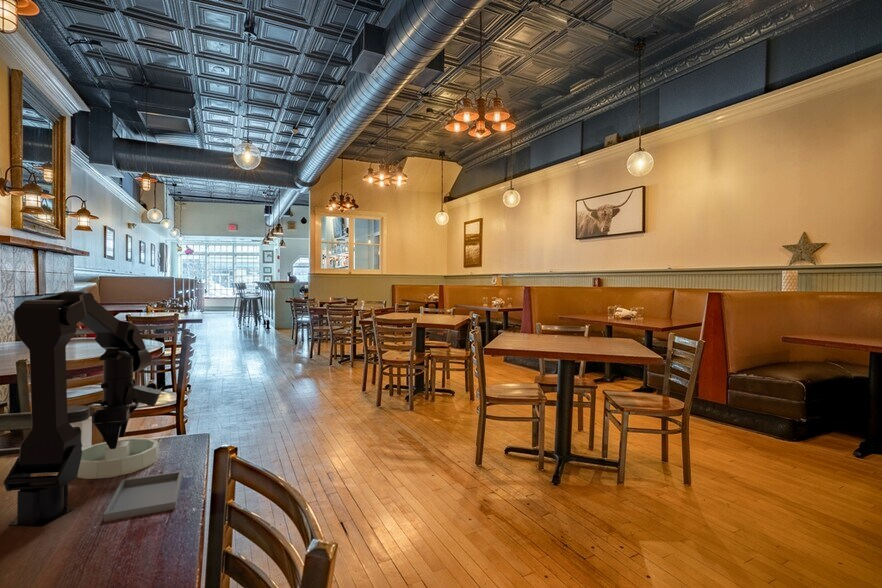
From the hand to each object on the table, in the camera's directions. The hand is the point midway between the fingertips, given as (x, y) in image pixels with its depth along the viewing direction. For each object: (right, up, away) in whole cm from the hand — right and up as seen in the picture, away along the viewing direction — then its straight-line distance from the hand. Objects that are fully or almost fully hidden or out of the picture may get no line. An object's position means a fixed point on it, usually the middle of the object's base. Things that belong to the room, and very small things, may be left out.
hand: (117, 442), depth 104 cm
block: (0, -5, 0) cm, 5 cm away
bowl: (0, -6, 0) cm, 6 cm away
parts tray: (+18, -6, -16) cm, 25 cm away
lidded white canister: (-16, -6, +5) cm, 17 cm away
